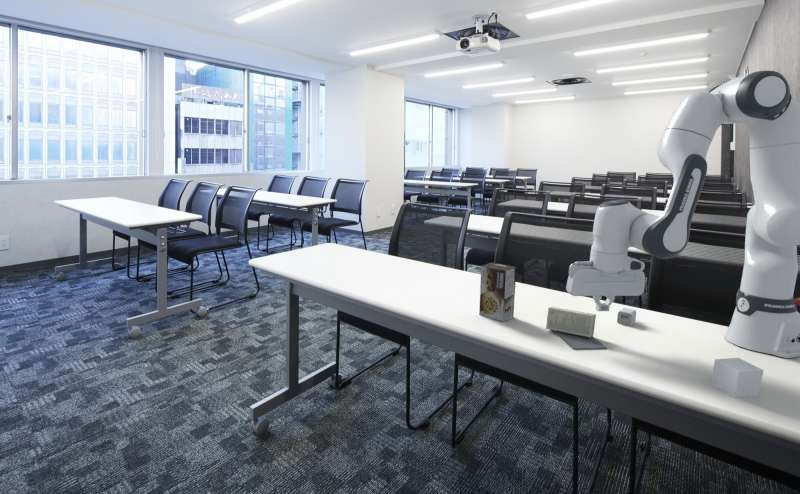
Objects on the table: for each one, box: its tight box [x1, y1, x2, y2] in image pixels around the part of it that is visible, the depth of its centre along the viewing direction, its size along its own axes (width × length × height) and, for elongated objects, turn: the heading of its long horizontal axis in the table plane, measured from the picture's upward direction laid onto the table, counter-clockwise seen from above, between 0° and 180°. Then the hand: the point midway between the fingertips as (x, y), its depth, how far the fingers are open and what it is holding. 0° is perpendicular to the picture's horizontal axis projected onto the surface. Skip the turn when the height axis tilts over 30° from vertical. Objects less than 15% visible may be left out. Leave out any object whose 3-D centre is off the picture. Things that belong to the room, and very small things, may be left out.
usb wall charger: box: [616, 307, 637, 327], centre depth 138 cm, size 4×7×4 cm, turn 139°
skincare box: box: [545, 306, 597, 337], centre depth 128 cm, size 6×4×12 cm
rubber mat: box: [554, 330, 608, 351], centre depth 125 cm, size 9×12×1 cm
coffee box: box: [478, 262, 517, 322], centre depth 141 cm, size 9×6×16 cm
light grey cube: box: [710, 357, 764, 399], centre depth 98 cm, size 6×6×6 cm
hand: (602, 310), depth 124 cm, fingers closed
